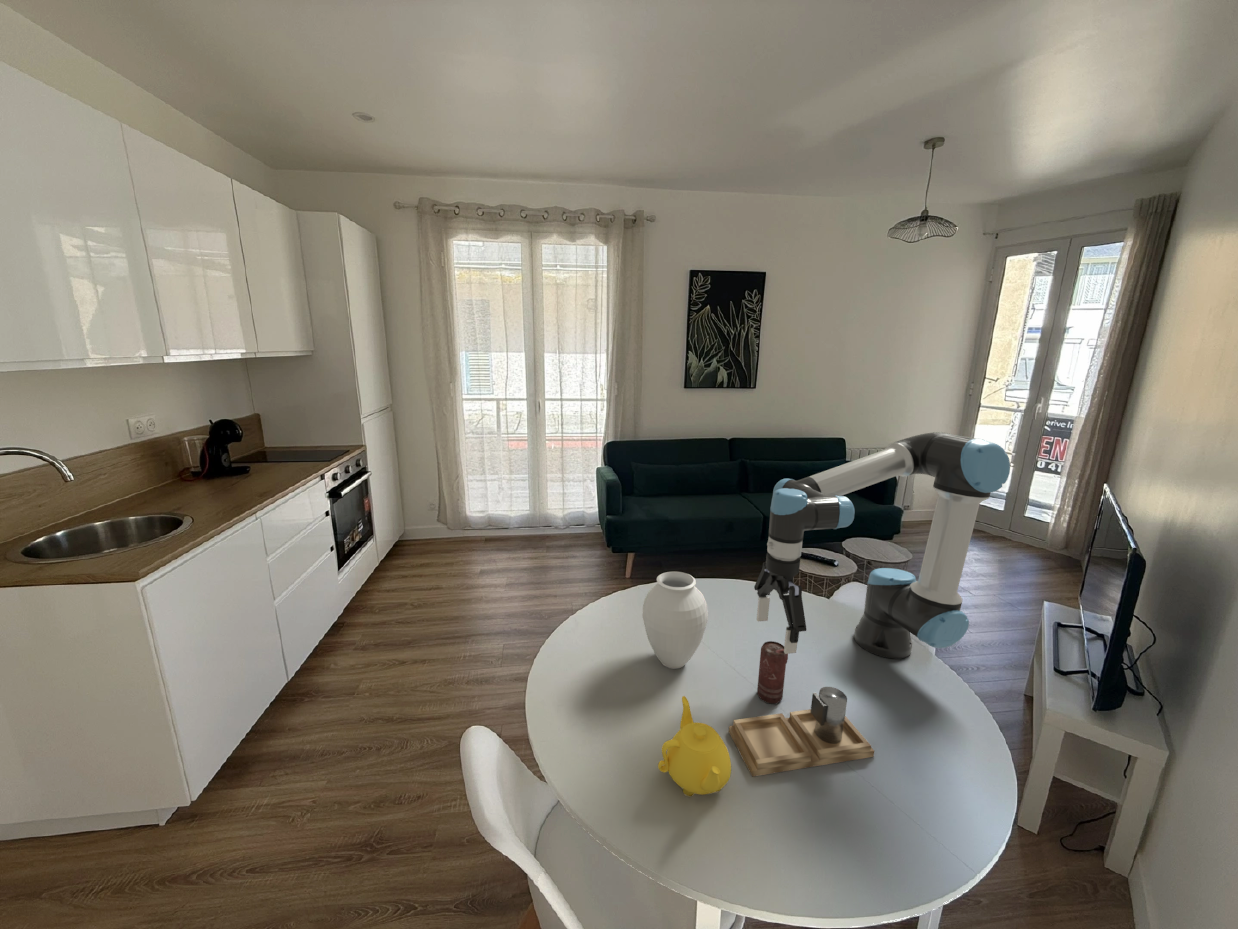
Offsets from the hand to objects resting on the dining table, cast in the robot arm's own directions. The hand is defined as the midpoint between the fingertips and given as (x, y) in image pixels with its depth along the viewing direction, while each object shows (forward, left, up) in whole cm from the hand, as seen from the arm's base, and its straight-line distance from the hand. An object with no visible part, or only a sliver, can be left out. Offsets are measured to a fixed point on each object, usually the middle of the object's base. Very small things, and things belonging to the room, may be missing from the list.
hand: (775, 635), depth 116 cm
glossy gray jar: (-6, +15, -16) cm, 23 cm away
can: (0, 0, -18) cm, 18 cm away
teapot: (+27, +19, -18) cm, 37 cm away
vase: (+20, -18, -18) cm, 32 cm away
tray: (+1, +15, -17) cm, 23 cm away
